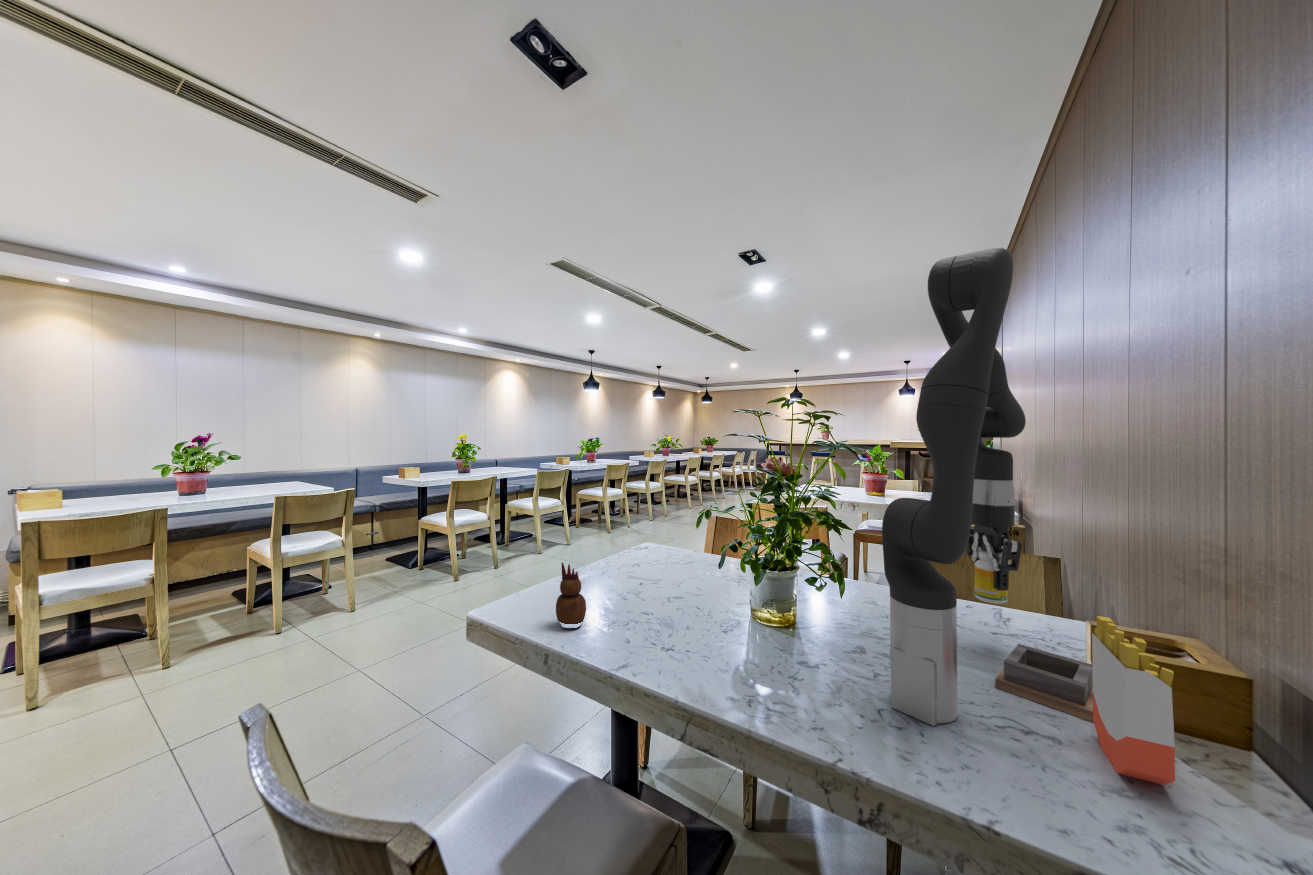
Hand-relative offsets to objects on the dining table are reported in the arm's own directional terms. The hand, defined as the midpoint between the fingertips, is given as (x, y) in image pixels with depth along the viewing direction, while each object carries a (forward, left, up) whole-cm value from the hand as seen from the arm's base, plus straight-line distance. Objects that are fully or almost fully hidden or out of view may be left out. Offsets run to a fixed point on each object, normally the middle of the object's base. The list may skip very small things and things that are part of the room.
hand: (990, 584), depth 89 cm
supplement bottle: (0, 0, -3) cm, 3 cm away
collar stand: (-10, -10, -13) cm, 19 cm away
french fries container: (-24, -21, -13) cm, 34 cm away
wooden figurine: (-60, +66, -13) cm, 90 cm away
